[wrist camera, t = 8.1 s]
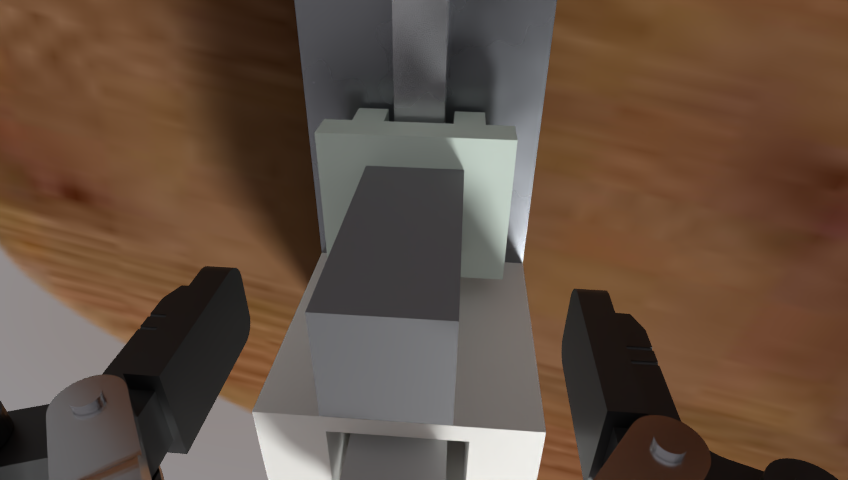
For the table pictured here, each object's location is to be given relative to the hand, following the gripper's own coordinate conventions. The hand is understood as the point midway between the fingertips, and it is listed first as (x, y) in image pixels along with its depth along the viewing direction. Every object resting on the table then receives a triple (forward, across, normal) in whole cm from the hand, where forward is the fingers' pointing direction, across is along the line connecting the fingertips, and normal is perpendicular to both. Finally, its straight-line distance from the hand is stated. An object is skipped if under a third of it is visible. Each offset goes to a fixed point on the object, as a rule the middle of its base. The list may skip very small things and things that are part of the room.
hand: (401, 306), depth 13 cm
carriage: (+7, 0, 0) cm, 7 cm away
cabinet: (+8, 0, +6) cm, 10 cm away
